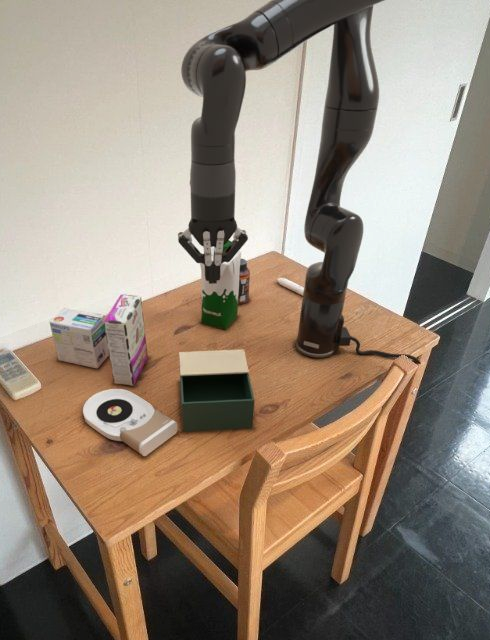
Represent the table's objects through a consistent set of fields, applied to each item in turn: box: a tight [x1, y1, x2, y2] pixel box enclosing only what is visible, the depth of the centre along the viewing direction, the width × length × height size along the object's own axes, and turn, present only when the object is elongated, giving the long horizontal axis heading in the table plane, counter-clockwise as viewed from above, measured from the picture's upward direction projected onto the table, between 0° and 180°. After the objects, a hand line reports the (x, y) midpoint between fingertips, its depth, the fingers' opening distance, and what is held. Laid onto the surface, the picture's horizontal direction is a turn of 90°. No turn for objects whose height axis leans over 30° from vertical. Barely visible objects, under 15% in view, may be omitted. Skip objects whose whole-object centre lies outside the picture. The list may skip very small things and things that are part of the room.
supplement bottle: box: [238, 258, 251, 305], centre depth 137 cm, size 6×6×11 cm
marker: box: [276, 277, 304, 297], centre depth 143 cm, size 18×2×2 cm, turn 40°
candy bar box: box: [104, 294, 149, 387], centre depth 112 cm, size 11×5×16 cm, turn 169°
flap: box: [178, 348, 250, 377], centre depth 106 cm, size 14×8×1 cm, turn 94°
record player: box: [82, 388, 179, 457], centre depth 103 cm, size 12×3×20 cm
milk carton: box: [199, 239, 242, 331], centre depth 127 cm, size 9×9×20 cm
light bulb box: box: [48, 307, 110, 369], centre depth 117 cm, size 11×7×11 cm, turn 71°
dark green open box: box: [178, 357, 255, 433], centre depth 106 cm, size 14×16×7 cm
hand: (212, 281), depth 97 cm, fingers closed
